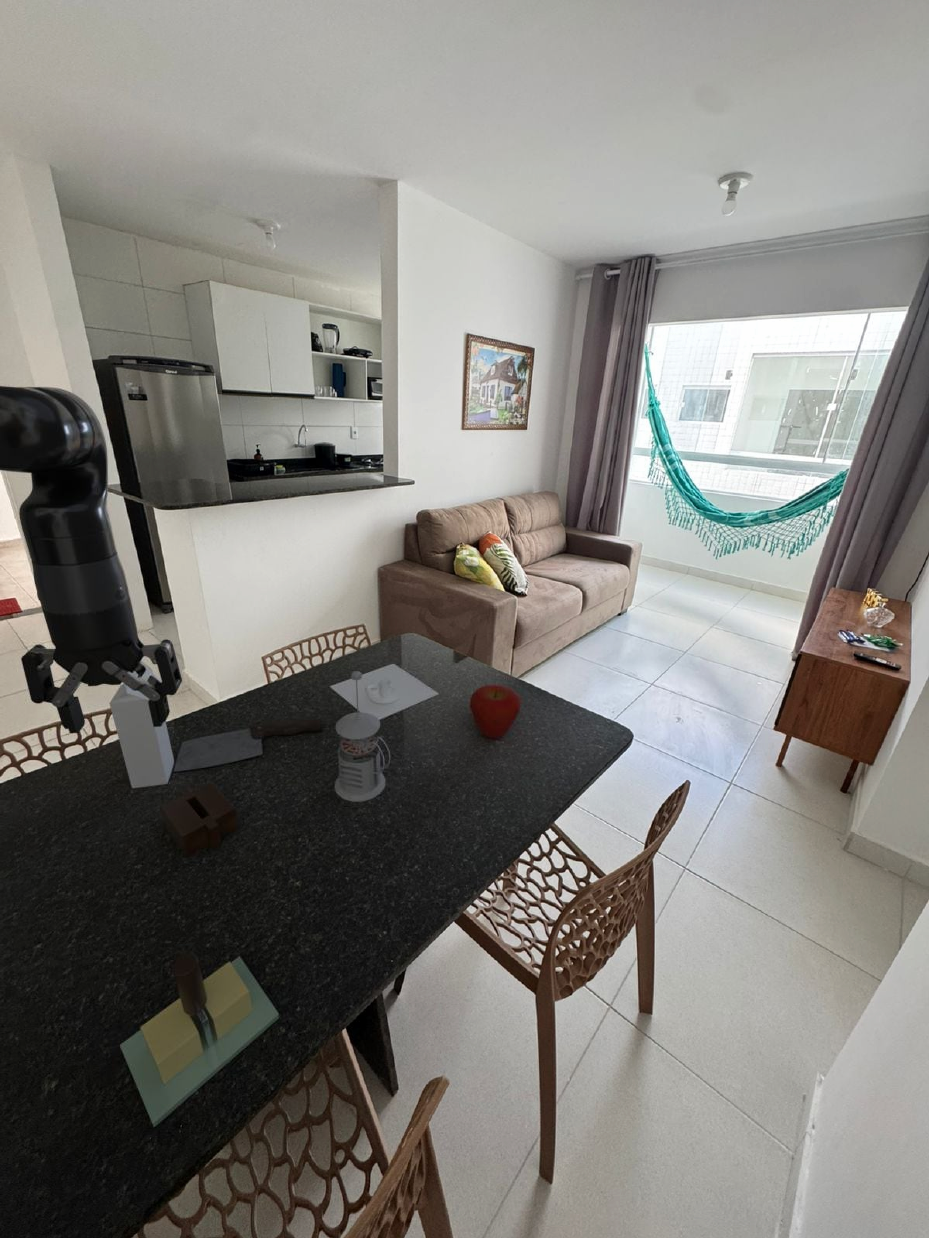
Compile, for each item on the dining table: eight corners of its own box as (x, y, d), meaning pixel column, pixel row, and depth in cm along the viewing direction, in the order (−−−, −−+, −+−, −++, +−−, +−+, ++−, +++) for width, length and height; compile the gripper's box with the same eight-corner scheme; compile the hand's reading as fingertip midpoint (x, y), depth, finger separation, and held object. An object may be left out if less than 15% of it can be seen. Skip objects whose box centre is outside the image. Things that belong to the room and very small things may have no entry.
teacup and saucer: (360, 693, 129) (359, 679, 127) (386, 683, 134) (386, 669, 132) (380, 709, 123) (379, 694, 121) (406, 698, 128) (406, 684, 126)
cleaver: (321, 718, 118) (320, 711, 117) (328, 743, 110) (328, 735, 109) (177, 746, 107) (175, 738, 106) (173, 777, 99) (171, 768, 98)
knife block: (190, 863, 81) (186, 842, 79) (161, 821, 88) (156, 801, 87) (243, 832, 87) (239, 812, 85) (211, 796, 94) (208, 777, 93)
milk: (132, 789, 95) (103, 687, 86) (141, 767, 100) (115, 670, 91) (168, 784, 97) (144, 684, 88) (175, 763, 102) (153, 667, 93)
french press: (357, 760, 106) (353, 653, 96) (403, 781, 101) (404, 671, 91) (323, 788, 98) (315, 675, 88) (370, 813, 93) (368, 696, 83)
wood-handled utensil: (200, 1055, 58) (182, 989, 53) (182, 1020, 61) (164, 955, 56) (222, 1037, 59) (206, 972, 54) (203, 1004, 62) (187, 940, 57)
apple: (518, 723, 121) (523, 679, 116) (514, 752, 111) (520, 705, 106) (472, 716, 122) (475, 673, 117) (464, 744, 112) (467, 697, 108)
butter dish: (154, 1127, 52) (144, 1102, 50) (121, 1048, 58) (111, 1023, 56) (279, 1017, 62) (275, 993, 60) (240, 959, 68) (235, 935, 66)
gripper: (172, 583, 58) (194, 704, 65) (26, 585, 55) (64, 712, 61) (150, 609, 51) (177, 740, 58) (-17, 613, 48) (31, 752, 55)
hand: (119, 726), depth 60 cm, fingers open, 8 cm apart
